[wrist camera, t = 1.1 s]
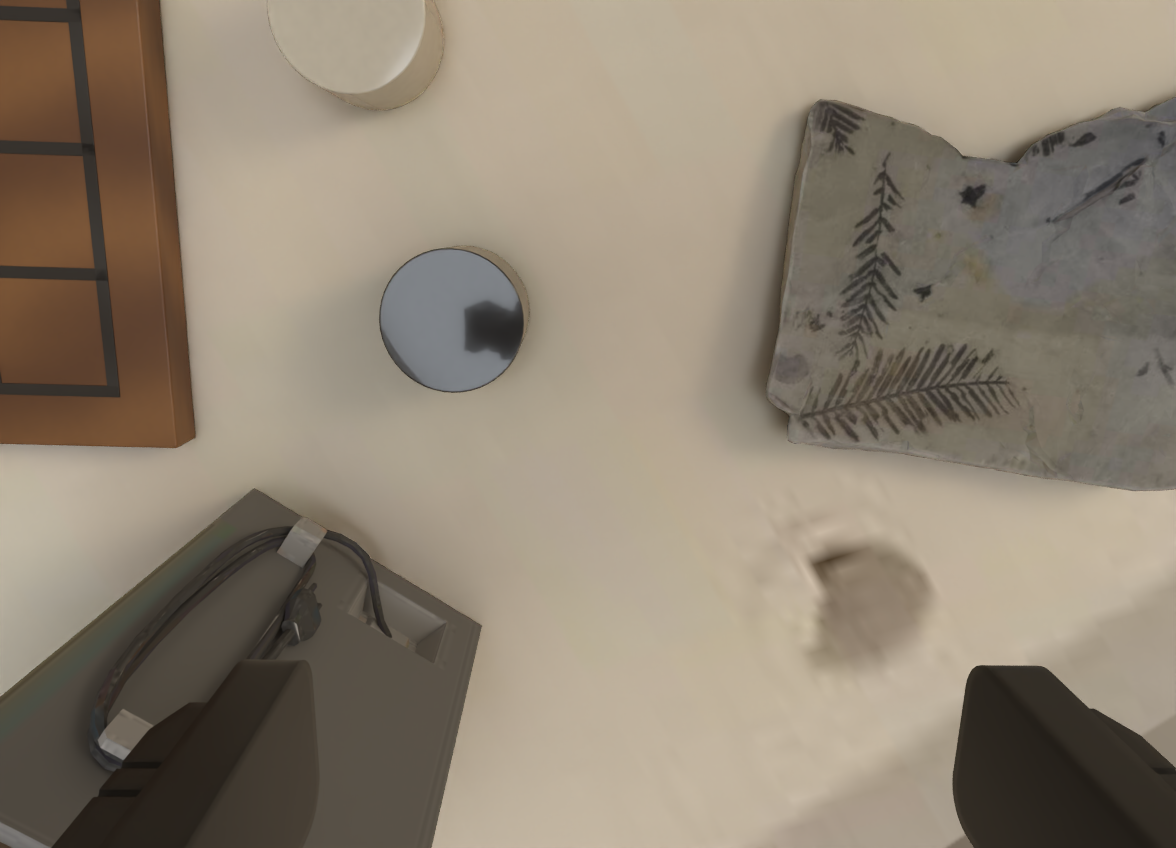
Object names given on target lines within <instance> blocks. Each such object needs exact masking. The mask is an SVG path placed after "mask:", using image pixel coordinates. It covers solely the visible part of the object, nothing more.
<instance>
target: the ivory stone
mask: <svg viewBox="0 0 1176 848" xmlns="http://www.w3.org/2000/svg"><path fill="white" fill-rule="evenodd" d="M267 10H268V19H269V23H270V27H271V31H272V34H273V36H274V39H275V41H276V43H277V45H278V47H279V49H280V51H281V52H282V54H283V56H284V57H285V59H286V60H287V61H288V62H289V63H290V65H291V66H292V67H293V68H294V69H295V70H296V71H297V72H298V73H299V74H300V75H301V76H303V77H304V78H306V79H307V80H308V81H310V82H311V83H313V84H315V85H317V86H319V87H320V88H322V89H324V90H326V91H328V92H329V93H331V94H333V95H335V96H337V97H338V98H340V99H342V100H344V101H346V102H347V103H349V104H351V105H354V106H357V107H360V108H364V109H368V110H388V109H394V108H397V107H400V106H403V105H405V104H407V103H409V102H411V101H412V100H414V99H415V98H417V97H418V96H419V95H420V94H421V93H422V92H424V91H425V89H426V88H427V87H428V86H429V85H430V83H431V82H432V80H433V78H434V77H435V75H436V73H437V70H438V68H439V65H440V62H441V59H442V53H443V42H444V38H443V28H442V23H441V19H440V15H439V12H438V10H437V7H436V5H435V3H434V1H433V0H267Z"/></svg>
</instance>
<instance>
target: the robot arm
mask: <svg viewBox="0 0 1176 848" xmlns="http://www.w3.org/2000/svg"><path fill="white" fill-rule="evenodd" d="M319 782H320V772H319V757H318V743H317V730H316V716H315V703H314V689H313V677H312V671H311V668H310V665H309V663H308V662H307V661H306V660H260V659H244V660H241V661H239V662H238V663H237V664H236V665H235V666H234V668H233V669H232V670H231V672H230V673H229V674H228V676H227V677H226V678H225V680H224V681H223V682H222V684H221V685H220V686H219V688H218V689H217V690H216V692H215V693H214V694H213V696H212V697H211V698H210V700H209V701H208V702H189V703H188V704H186V705H185V706H183V707H182V708H180V709H179V710H177V711H176V712H174V713H173V714H171V715H170V716H168V717H167V718H165V719H164V720H162V721H161V722H159V723H158V724H156V725H155V726H153V727H152V728H150V729H149V730H148V731H147V732H146V734H145V735H144V736H143V737H142V738H141V740H140V741H139V742H138V743H137V744H136V746H135V747H134V748H133V749H132V750H131V752H130V753H129V754H128V755H127V757H126V758H125V759H124V760H123V761H122V767H121V769H118V768H117V769H116V770H115V771H114V772H113V773H112V775H111V776H110V777H109V778H108V780H107V781H106V782H105V783H104V784H103V786H102V787H101V788H100V789H99V795H98V797H93V798H92V799H91V800H90V801H89V803H88V804H87V805H86V806H85V807H84V809H83V810H82V811H81V812H80V813H79V815H78V816H77V817H76V818H75V819H74V821H73V822H72V823H71V824H70V826H69V827H68V828H67V829H66V830H65V832H64V833H63V834H62V835H61V836H60V838H59V839H58V840H57V841H56V842H55V844H54V845H53V846H52V847H51V848H303V846H304V844H305V842H306V839H307V837H308V835H309V832H310V830H311V827H312V824H313V821H314V817H315V813H316V808H317V802H318V794H319ZM953 796H954V803H955V807H956V811H957V815H958V818H959V821H960V824H961V826H962V828H963V830H964V832H965V834H966V836H967V837H968V839H969V840H970V842H971V843H972V845H973V847H974V848H1176V768H1175V767H1174V766H1173V765H1172V764H1171V763H1170V762H1169V761H1168V760H1167V759H1166V758H1164V757H1163V756H1162V755H1161V754H1160V753H1159V752H1158V751H1157V750H1156V749H1155V748H1154V747H1152V746H1151V745H1150V744H1149V743H1148V742H1147V741H1146V740H1145V739H1144V738H1143V737H1142V736H1140V735H1139V734H1137V733H1135V732H1133V731H1132V730H1130V729H1128V728H1127V727H1125V726H1123V725H1121V724H1120V723H1118V722H1116V721H1114V720H1113V719H1111V718H1109V717H1108V716H1106V715H1104V714H1102V713H1101V712H1099V711H1097V710H1095V709H1089V708H1088V707H1087V706H1086V705H1085V704H1084V703H1083V702H1082V701H1081V700H1080V699H1079V698H1078V697H1076V696H1075V695H1074V694H1073V693H1072V692H1071V691H1070V690H1069V689H1068V688H1067V687H1066V686H1065V685H1064V684H1063V683H1062V682H1061V681H1060V680H1059V679H1058V678H1057V677H1056V676H1055V675H1053V674H1052V673H1051V672H1050V671H1049V670H1048V669H1046V668H1044V667H1042V666H988V665H980V666H976V667H975V668H973V669H972V671H971V672H970V674H969V676H968V679H967V683H966V688H965V695H964V702H963V709H962V716H961V722H960V729H959V736H958V743H957V750H956V757H955V764H954V771H953Z"/></svg>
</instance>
